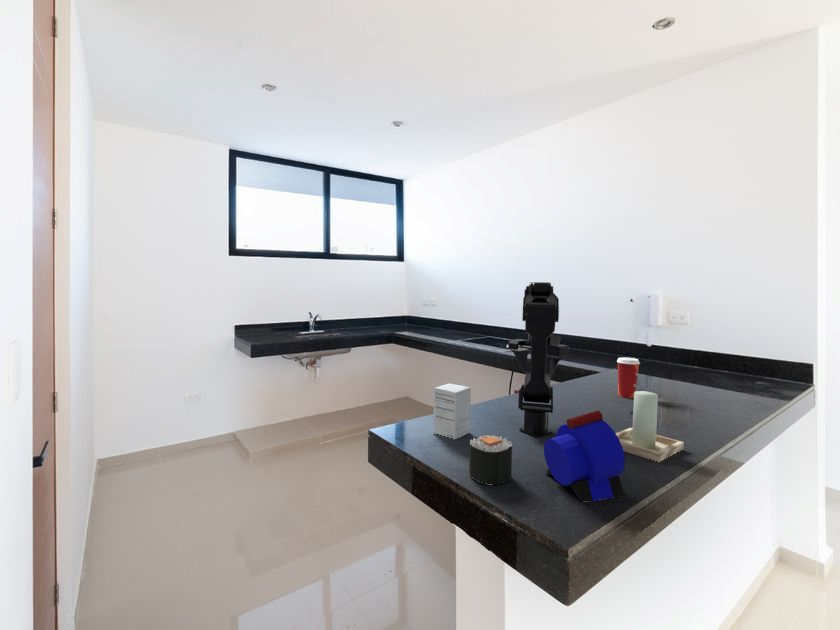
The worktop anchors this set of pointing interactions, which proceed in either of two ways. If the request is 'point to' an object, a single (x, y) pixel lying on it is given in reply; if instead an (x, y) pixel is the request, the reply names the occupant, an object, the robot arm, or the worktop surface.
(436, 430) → the supplement box
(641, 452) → the birch tray
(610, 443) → the alarm clock
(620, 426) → the worktop surface
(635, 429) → the sage post
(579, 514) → the worktop surface
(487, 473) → the sushi
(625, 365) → the paper cup
